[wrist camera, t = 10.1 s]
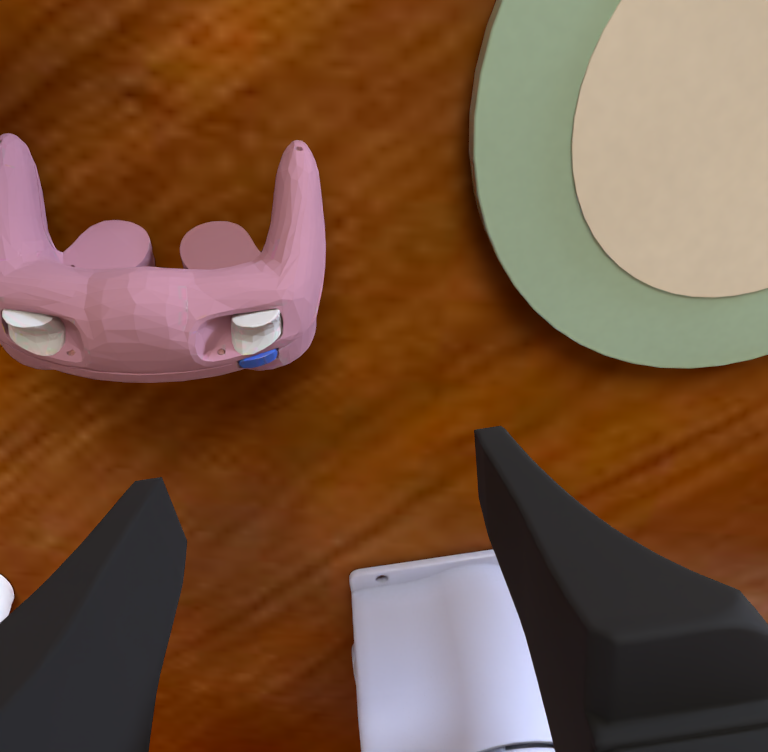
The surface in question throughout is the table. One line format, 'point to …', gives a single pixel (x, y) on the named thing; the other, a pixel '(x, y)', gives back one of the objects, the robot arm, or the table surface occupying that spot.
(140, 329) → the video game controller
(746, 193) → the plate
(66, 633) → the robot arm
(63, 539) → the table surface
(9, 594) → the cup
